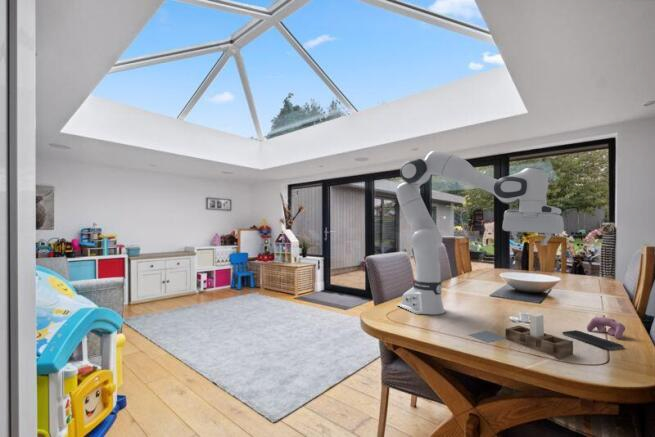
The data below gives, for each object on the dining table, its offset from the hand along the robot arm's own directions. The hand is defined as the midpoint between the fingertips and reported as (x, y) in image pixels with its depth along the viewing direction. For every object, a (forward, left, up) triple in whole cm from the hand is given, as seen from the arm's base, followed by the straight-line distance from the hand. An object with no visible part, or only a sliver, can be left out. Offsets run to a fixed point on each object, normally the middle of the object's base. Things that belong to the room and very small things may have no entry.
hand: (529, 244), depth 116 cm
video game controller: (+18, +15, -33) cm, 41 cm away
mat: (-6, -23, -33) cm, 41 cm away
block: (+8, -18, -31) cm, 37 cm away
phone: (+17, +3, -34) cm, 38 cm away
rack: (+8, -18, -33) cm, 38 cm away
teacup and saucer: (-8, +8, -34) cm, 35 cm away
